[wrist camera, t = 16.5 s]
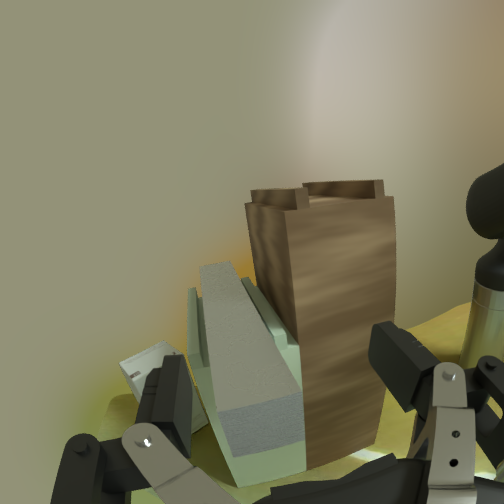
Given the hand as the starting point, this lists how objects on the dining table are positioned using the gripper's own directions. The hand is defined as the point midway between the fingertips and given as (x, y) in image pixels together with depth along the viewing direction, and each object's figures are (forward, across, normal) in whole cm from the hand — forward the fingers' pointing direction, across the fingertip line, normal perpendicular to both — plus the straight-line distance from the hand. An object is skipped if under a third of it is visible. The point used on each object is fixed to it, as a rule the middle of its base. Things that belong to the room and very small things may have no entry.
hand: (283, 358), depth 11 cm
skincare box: (+20, +13, +30) cm, 38 cm away
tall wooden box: (+16, -9, +28) cm, 34 cm away
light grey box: (+16, +1, +29) cm, 33 cm away
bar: (+13, +2, +7) cm, 15 cm away
